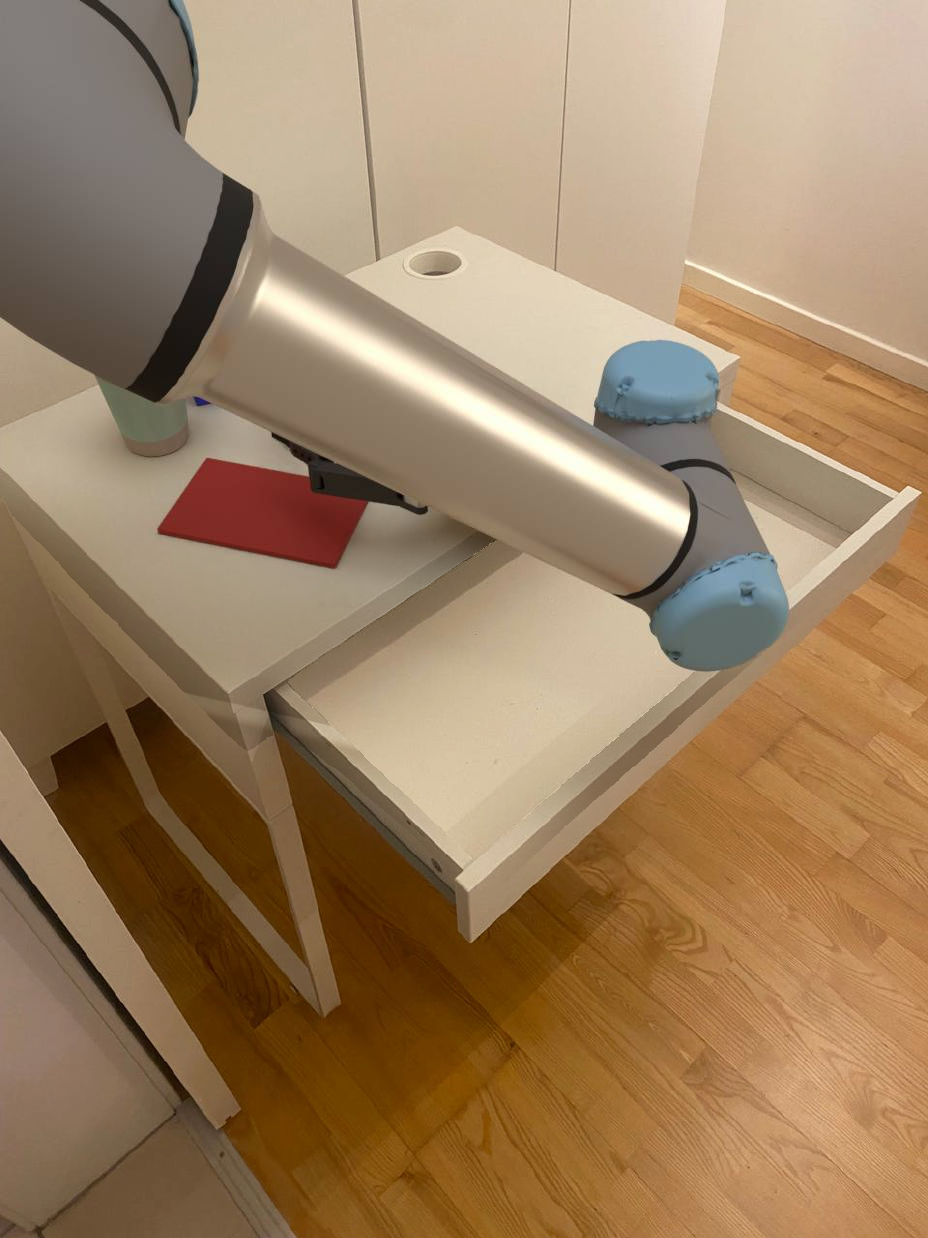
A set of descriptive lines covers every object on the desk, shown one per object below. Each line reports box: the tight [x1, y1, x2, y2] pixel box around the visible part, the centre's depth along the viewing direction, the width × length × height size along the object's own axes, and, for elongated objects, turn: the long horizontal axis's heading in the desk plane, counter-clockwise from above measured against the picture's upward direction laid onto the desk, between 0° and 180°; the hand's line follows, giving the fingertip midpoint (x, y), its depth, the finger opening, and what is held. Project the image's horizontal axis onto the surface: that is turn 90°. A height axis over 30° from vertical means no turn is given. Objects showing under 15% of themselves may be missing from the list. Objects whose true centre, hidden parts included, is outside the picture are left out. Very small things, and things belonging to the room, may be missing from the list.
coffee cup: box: [94, 375, 190, 457], centre depth 86 cm, size 8×8×12 cm
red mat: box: [156, 457, 369, 569], centre depth 84 cm, size 16×10×1 cm, turn 76°
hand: (328, 385), depth 85 cm, fingers open, 13 cm apart
